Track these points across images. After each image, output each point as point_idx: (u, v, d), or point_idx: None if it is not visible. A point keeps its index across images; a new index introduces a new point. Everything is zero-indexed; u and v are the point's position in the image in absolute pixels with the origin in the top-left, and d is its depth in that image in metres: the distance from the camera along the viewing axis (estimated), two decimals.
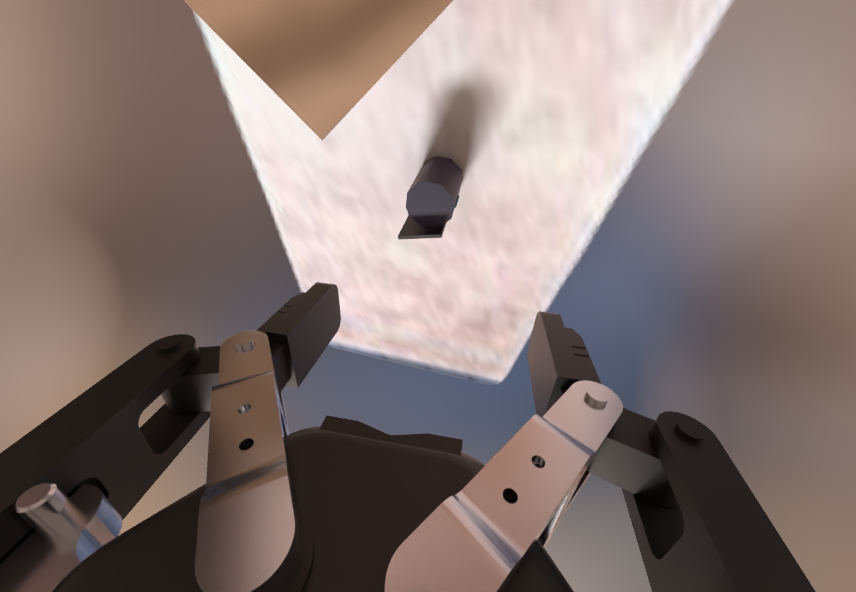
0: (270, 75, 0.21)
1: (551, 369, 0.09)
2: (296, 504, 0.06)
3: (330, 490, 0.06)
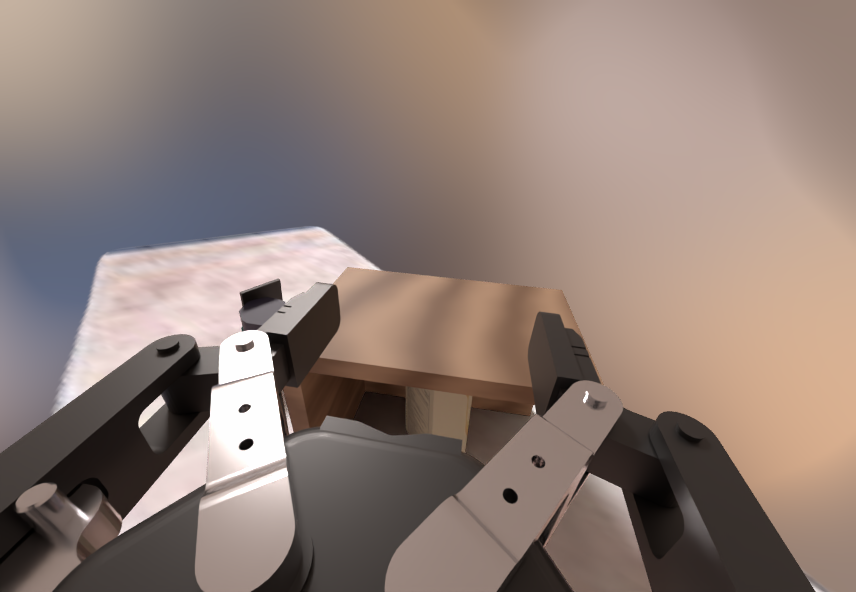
0: (388, 274, 0.33)
1: (551, 369, 0.09)
2: (296, 504, 0.06)
3: (330, 490, 0.06)
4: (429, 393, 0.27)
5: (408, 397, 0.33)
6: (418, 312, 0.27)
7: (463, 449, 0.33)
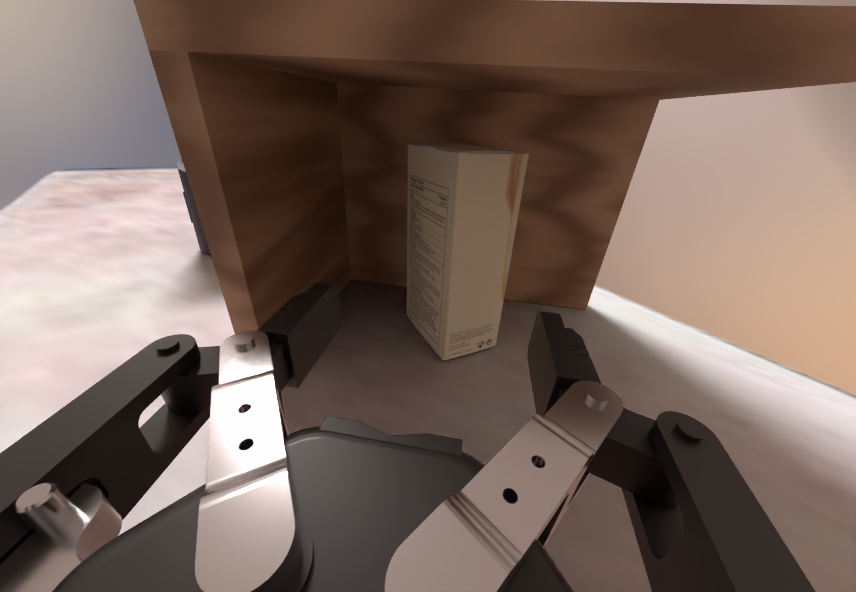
0: None
1: (551, 369, 0.09)
2: (296, 504, 0.06)
3: (330, 490, 0.06)
4: (447, 189, 0.16)
5: (411, 248, 0.21)
6: None
7: (495, 328, 0.21)
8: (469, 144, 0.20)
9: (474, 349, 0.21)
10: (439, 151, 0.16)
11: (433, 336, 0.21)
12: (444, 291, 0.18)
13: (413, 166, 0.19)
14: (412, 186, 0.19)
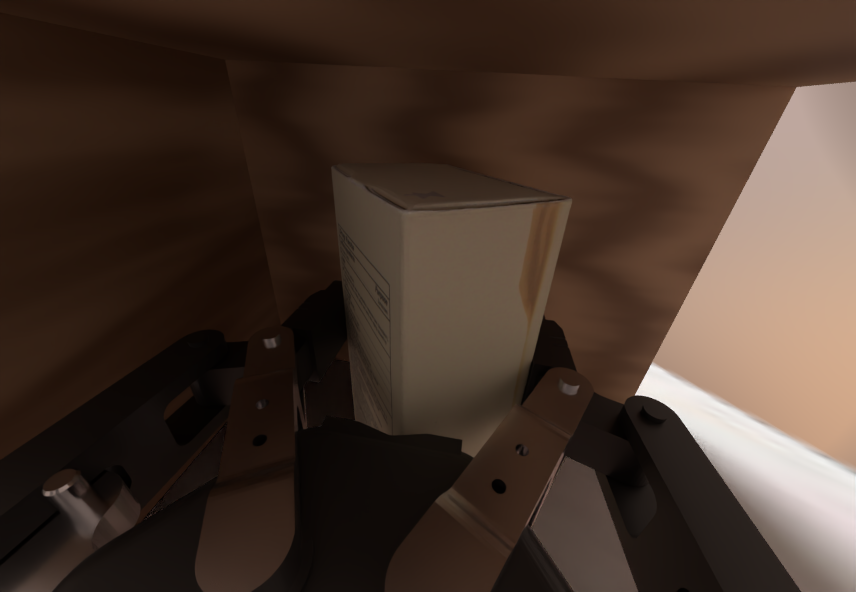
0: None
1: None
2: None
3: (330, 490, 0.06)
4: (388, 284, 0.07)
5: (350, 343, 0.12)
6: None
7: None
8: None
9: None
10: (369, 197, 0.07)
11: None
12: None
13: (340, 211, 0.10)
14: (342, 245, 0.10)
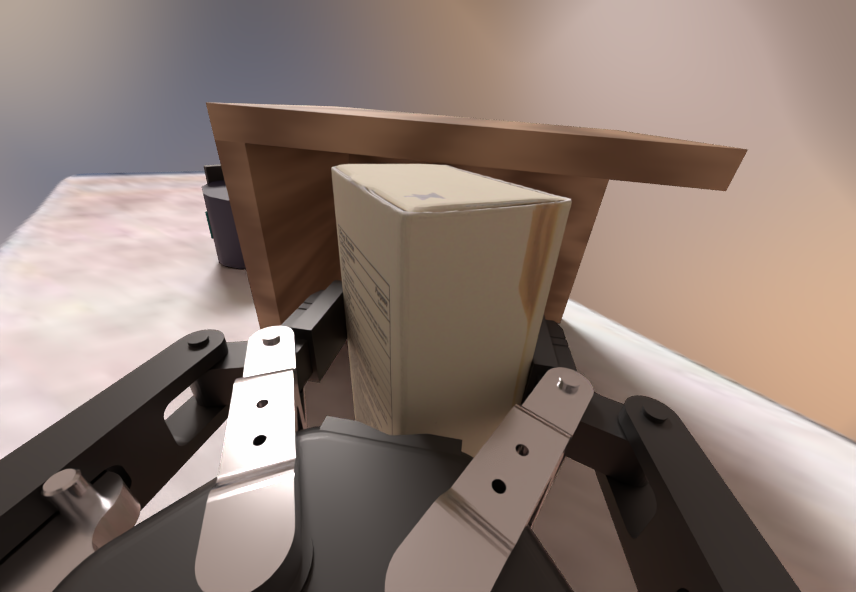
0: None
1: None
2: None
3: (330, 490, 0.06)
4: (387, 285, 0.07)
5: (350, 344, 0.12)
6: None
7: None
8: (449, 166, 0.11)
9: None
10: (369, 198, 0.07)
11: None
12: None
13: (340, 212, 0.10)
14: (342, 246, 0.10)
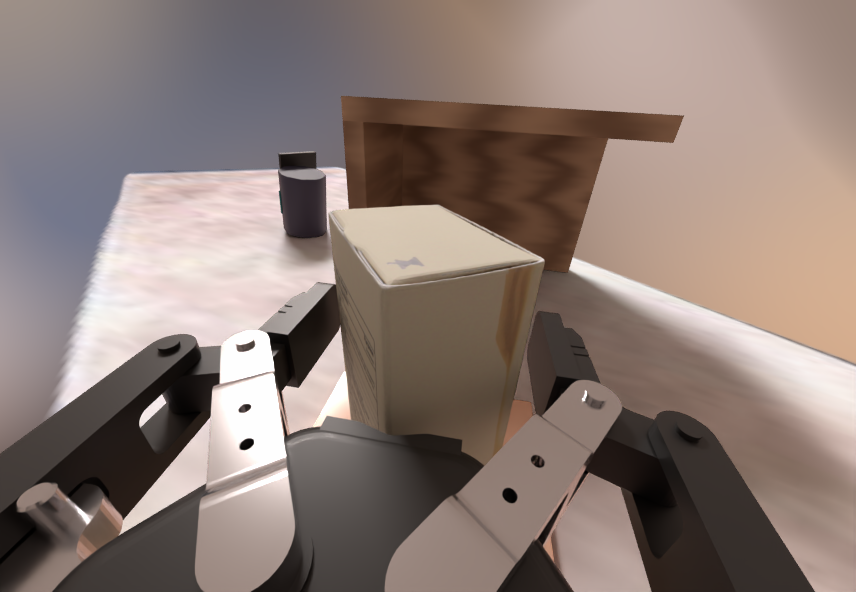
0: None
1: (550, 369, 0.09)
2: (296, 504, 0.06)
3: (330, 490, 0.06)
4: (373, 339, 0.08)
5: (347, 371, 0.13)
6: None
7: None
8: (441, 207, 0.12)
9: None
10: (357, 259, 0.08)
11: None
12: None
13: (336, 255, 0.11)
14: (338, 285, 0.11)
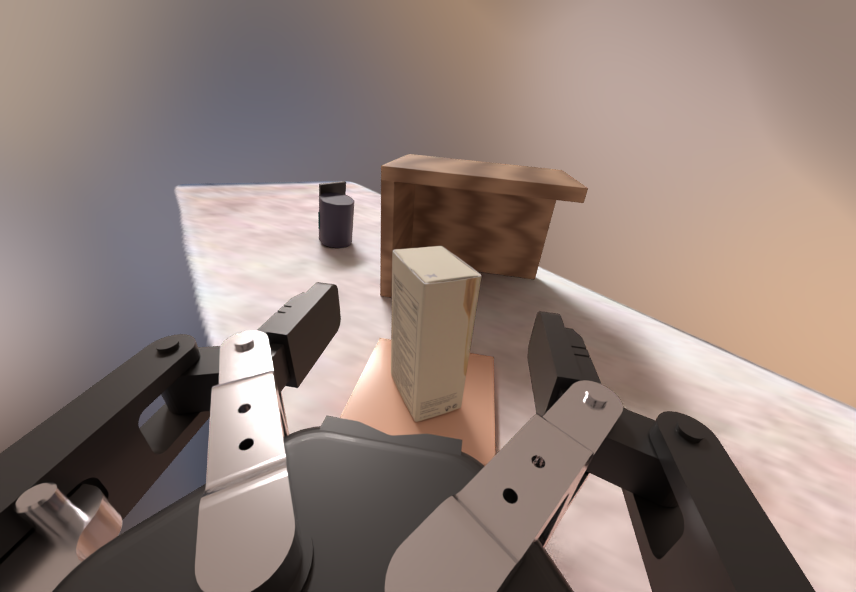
0: (439, 157, 0.46)
1: (551, 369, 0.09)
2: (296, 504, 0.06)
3: (330, 490, 0.06)
4: (417, 303, 0.21)
5: (394, 327, 0.26)
6: (465, 166, 0.41)
7: (460, 395, 0.26)
8: (443, 247, 0.25)
9: (442, 412, 0.26)
10: (412, 273, 0.21)
11: (409, 400, 0.25)
12: (415, 372, 0.23)
13: (396, 270, 0.24)
14: (395, 283, 0.24)
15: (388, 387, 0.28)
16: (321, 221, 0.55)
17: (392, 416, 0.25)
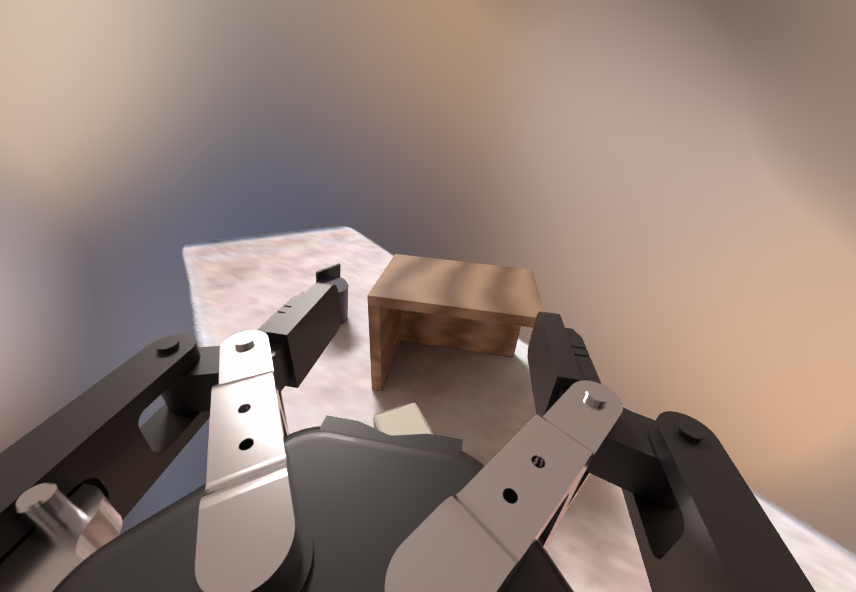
0: (422, 259, 0.52)
1: (551, 369, 0.09)
2: (296, 504, 0.06)
3: (330, 490, 0.06)
4: None
5: None
6: (443, 279, 0.46)
7: None
8: (416, 405, 0.31)
9: None
10: None
11: None
12: None
13: None
14: None
15: None
16: None
17: None
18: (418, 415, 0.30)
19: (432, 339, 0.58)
